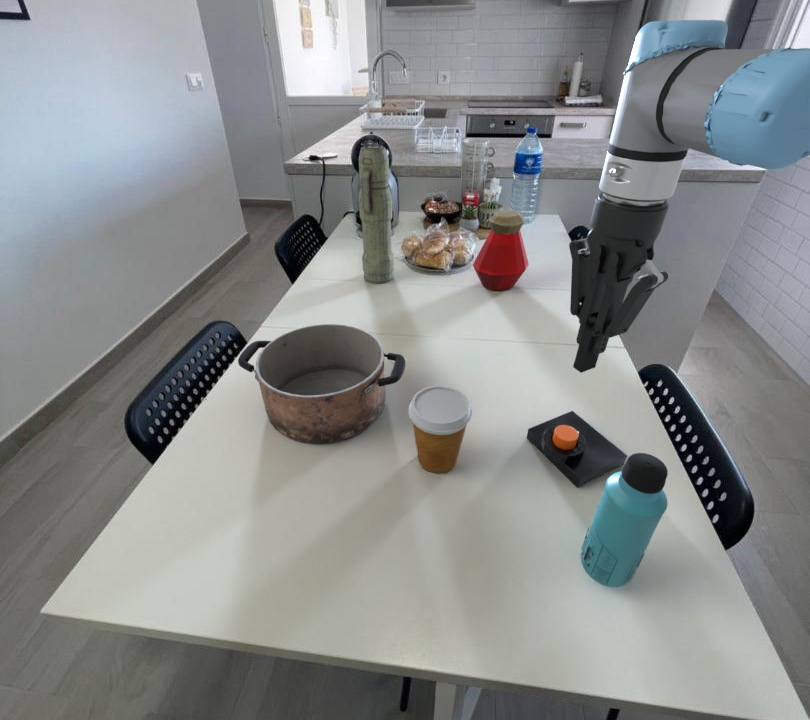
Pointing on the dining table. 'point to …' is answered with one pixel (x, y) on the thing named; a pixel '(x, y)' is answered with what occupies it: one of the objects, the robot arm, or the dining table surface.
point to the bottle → (502, 252)
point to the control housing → (577, 450)
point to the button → (565, 437)
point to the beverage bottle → (625, 520)
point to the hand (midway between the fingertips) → (584, 367)
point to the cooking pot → (322, 381)
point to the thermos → (375, 214)
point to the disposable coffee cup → (439, 426)
